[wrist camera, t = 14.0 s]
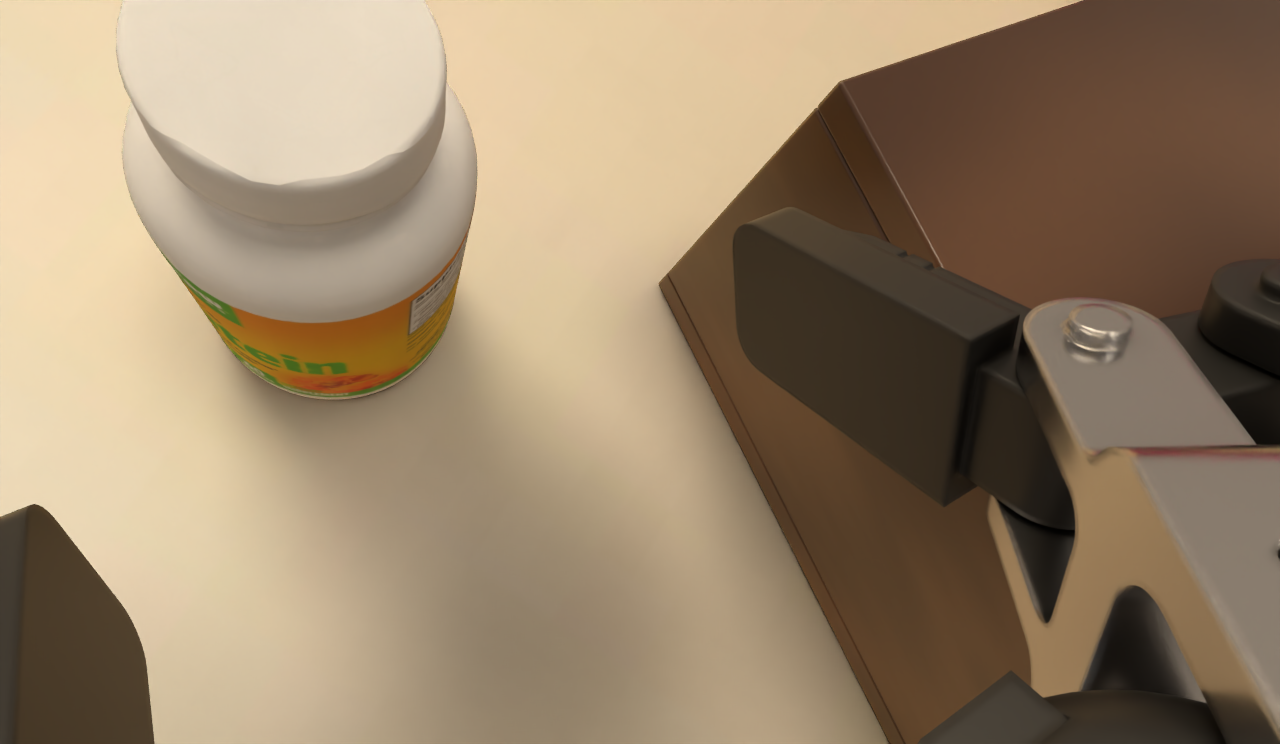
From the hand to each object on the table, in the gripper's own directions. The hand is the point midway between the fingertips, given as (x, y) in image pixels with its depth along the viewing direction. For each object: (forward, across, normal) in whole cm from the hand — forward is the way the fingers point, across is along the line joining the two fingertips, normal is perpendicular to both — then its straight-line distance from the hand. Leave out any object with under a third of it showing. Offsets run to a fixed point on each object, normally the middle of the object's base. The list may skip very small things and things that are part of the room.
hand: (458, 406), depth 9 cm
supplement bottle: (+11, 0, +4) cm, 12 cm away
